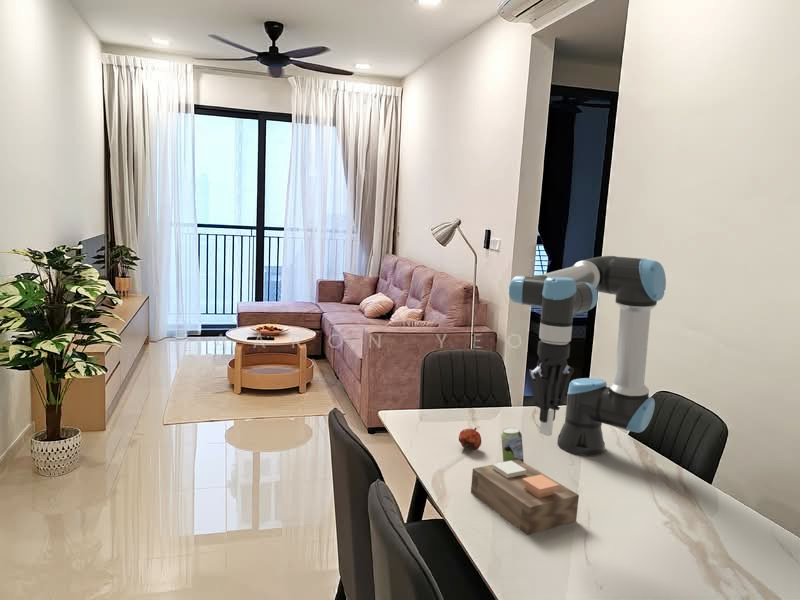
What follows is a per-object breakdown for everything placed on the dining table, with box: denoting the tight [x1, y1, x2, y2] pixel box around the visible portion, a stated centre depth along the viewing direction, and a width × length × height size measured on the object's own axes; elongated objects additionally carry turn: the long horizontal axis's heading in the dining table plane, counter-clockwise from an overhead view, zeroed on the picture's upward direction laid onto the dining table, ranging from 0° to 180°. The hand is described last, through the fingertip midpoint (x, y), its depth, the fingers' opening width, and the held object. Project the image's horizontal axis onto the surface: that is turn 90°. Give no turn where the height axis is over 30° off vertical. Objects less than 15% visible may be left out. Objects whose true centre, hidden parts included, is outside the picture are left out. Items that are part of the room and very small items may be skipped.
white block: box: [492, 461, 527, 478], centre depth 162 cm, size 6×6×8 cm
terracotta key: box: [522, 474, 560, 498], centre depth 152 cm, size 6×6×8 cm
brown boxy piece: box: [470, 459, 580, 536], centre depth 157 cm, size 16×23×7 cm
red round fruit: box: [458, 427, 482, 454], centre depth 192 cm, size 7×7×10 cm
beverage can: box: [501, 427, 525, 463], centre depth 180 cm, size 6×7×12 cm
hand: (545, 433), depth 149 cm, fingers closed
